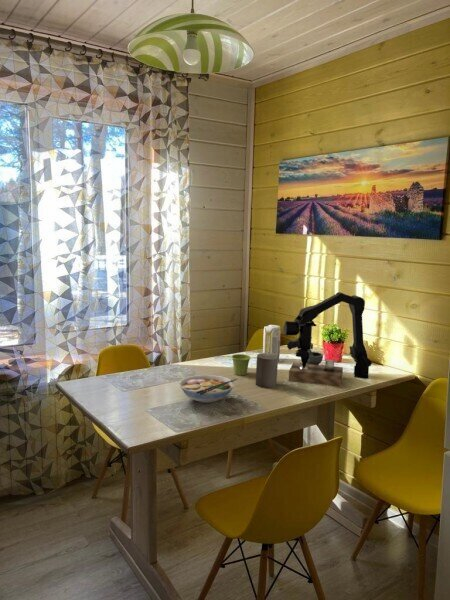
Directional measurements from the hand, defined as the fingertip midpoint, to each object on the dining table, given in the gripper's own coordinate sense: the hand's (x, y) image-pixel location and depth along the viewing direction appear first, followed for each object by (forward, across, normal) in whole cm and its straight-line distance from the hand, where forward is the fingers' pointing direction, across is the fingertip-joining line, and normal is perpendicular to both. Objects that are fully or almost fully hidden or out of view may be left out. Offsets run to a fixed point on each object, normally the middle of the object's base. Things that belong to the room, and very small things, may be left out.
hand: (303, 366), depth 242 cm
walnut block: (+5, 0, +6) cm, 8 cm away
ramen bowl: (+6, +44, -35) cm, 57 cm away
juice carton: (+6, -24, -20) cm, 32 cm away
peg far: (+5, 0, 0) cm, 5 cm away
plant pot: (+6, +4, -30) cm, 31 cm away
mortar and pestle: (+6, -20, +2) cm, 21 cm away
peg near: (+1, 0, +12) cm, 12 cm away
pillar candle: (+6, +16, -15) cm, 23 cm away
